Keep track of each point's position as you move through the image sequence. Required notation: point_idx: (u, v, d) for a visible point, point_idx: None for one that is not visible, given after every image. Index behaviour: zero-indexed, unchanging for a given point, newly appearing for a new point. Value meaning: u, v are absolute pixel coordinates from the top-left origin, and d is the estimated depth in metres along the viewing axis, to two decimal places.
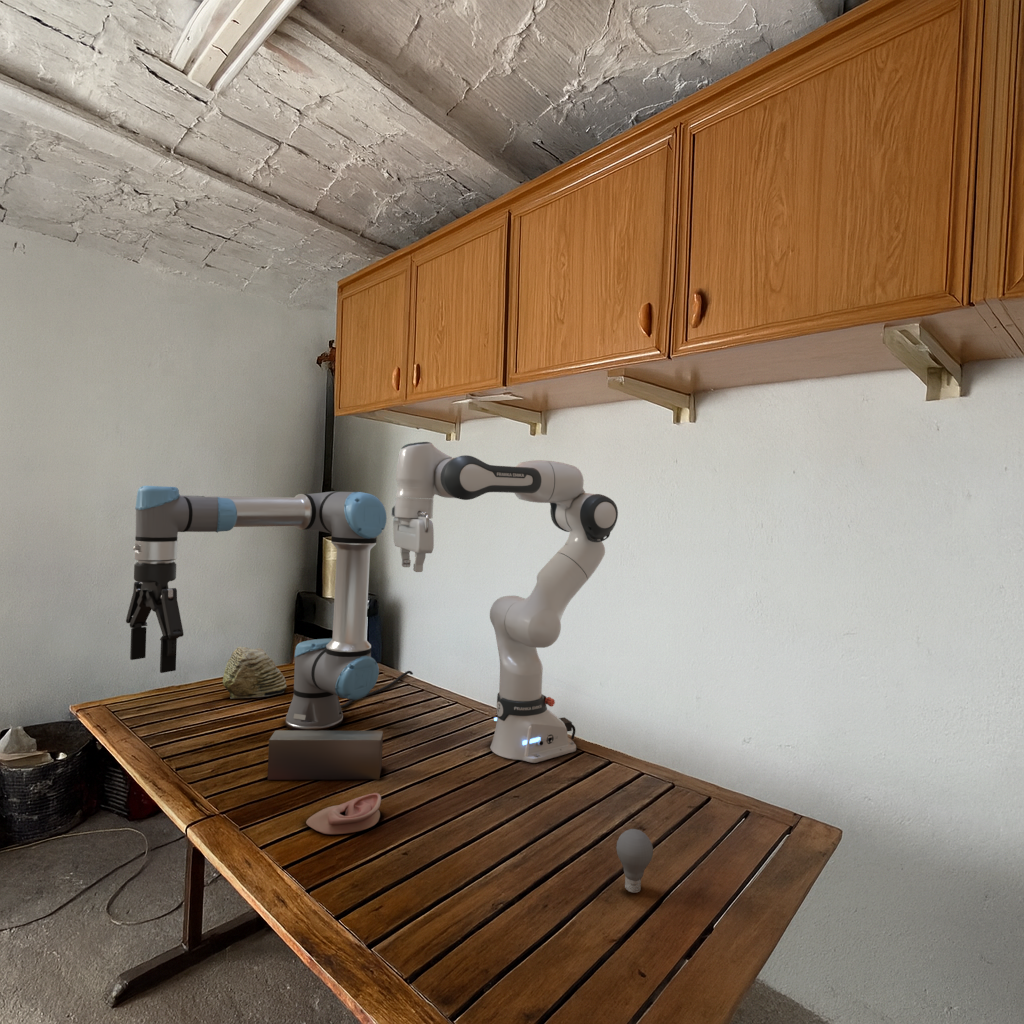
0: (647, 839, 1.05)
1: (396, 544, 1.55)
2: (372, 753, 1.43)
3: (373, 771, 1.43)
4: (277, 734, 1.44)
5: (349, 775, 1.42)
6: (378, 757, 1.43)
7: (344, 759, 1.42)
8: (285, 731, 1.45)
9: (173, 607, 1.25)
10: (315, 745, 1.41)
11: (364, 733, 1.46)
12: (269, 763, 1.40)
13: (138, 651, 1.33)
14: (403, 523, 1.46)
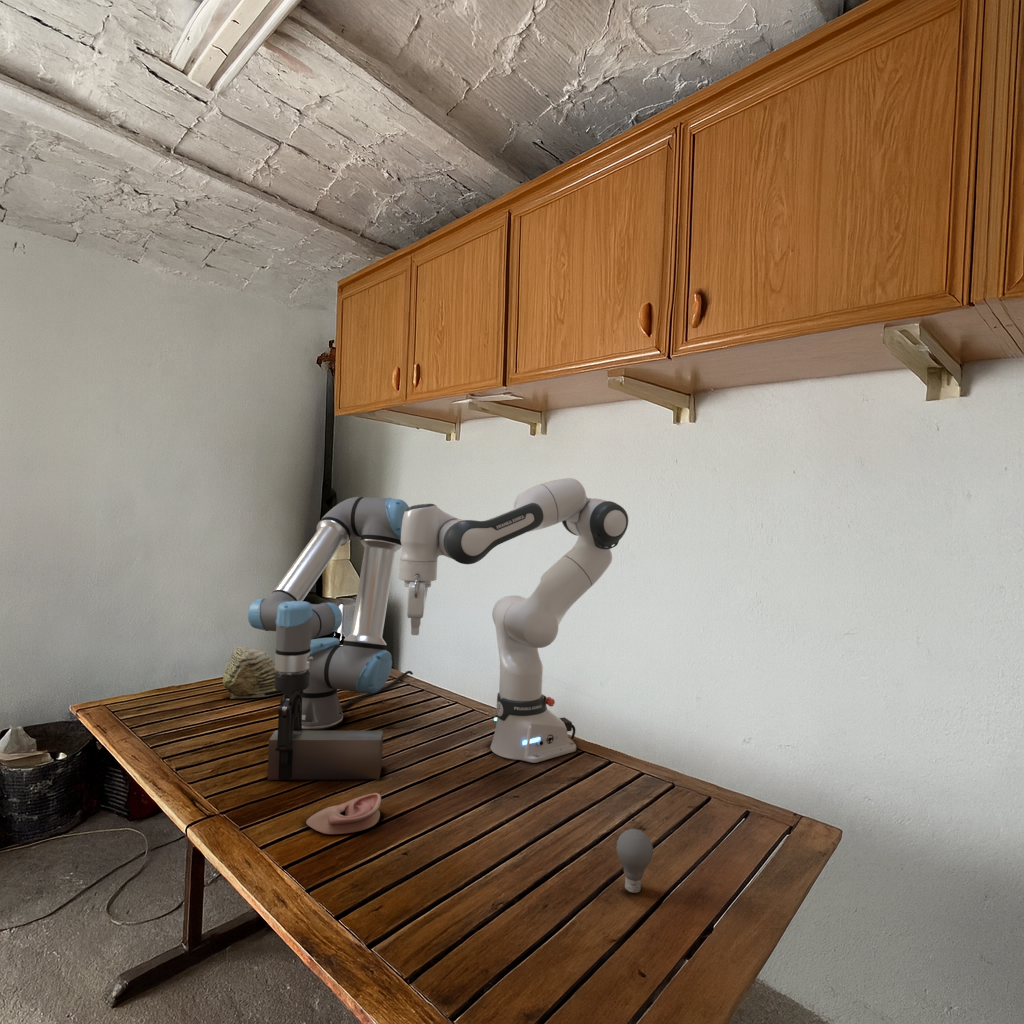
0: (647, 839, 1.05)
1: None
2: (372, 753, 1.43)
3: (373, 771, 1.43)
4: (277, 734, 1.44)
5: (349, 775, 1.42)
6: (378, 757, 1.43)
7: (344, 759, 1.42)
8: None
9: None
10: (315, 745, 1.41)
11: (364, 733, 1.46)
12: (269, 763, 1.40)
13: None
14: (405, 585, 1.48)
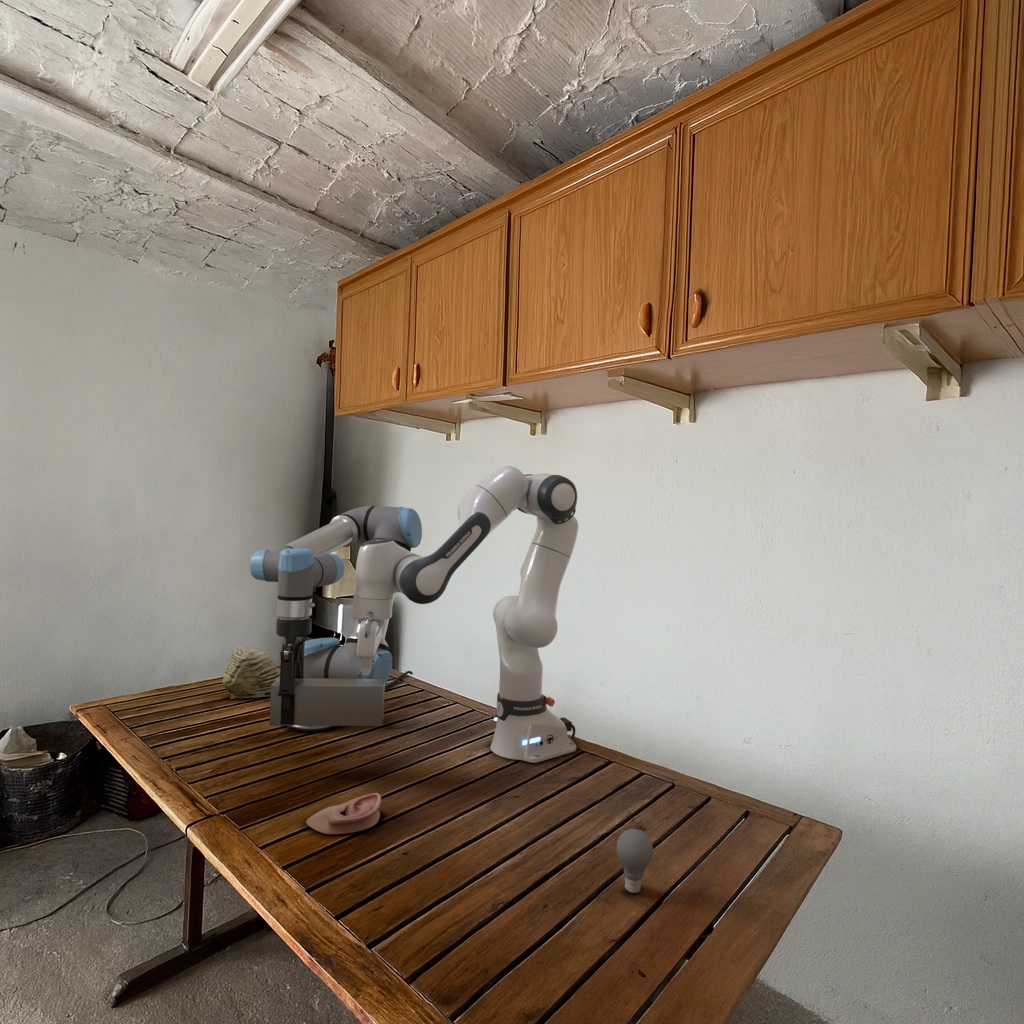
0: (647, 839, 1.05)
1: None
2: (374, 700, 1.43)
3: (375, 717, 1.43)
4: (279, 680, 1.43)
5: (352, 722, 1.42)
6: (380, 704, 1.43)
7: (347, 705, 1.42)
8: None
9: None
10: (317, 691, 1.41)
11: (366, 681, 1.46)
12: (271, 709, 1.40)
13: None
14: (358, 622, 1.43)
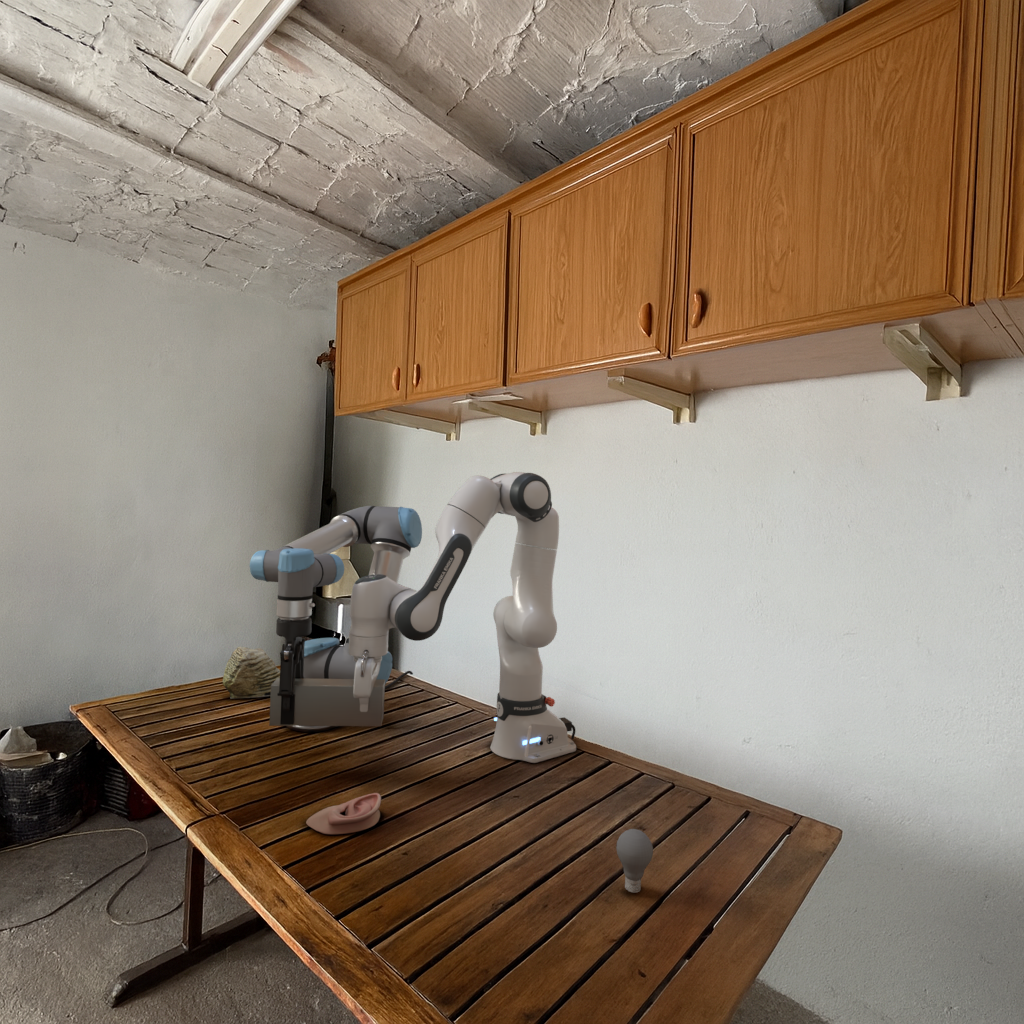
0: (647, 839, 1.05)
1: None
2: (374, 700, 1.43)
3: (375, 718, 1.43)
4: (279, 681, 1.43)
5: (351, 722, 1.42)
6: (380, 704, 1.43)
7: (346, 705, 1.42)
8: None
9: None
10: (317, 692, 1.41)
11: None
12: (271, 709, 1.40)
13: None
14: (354, 660, 1.43)
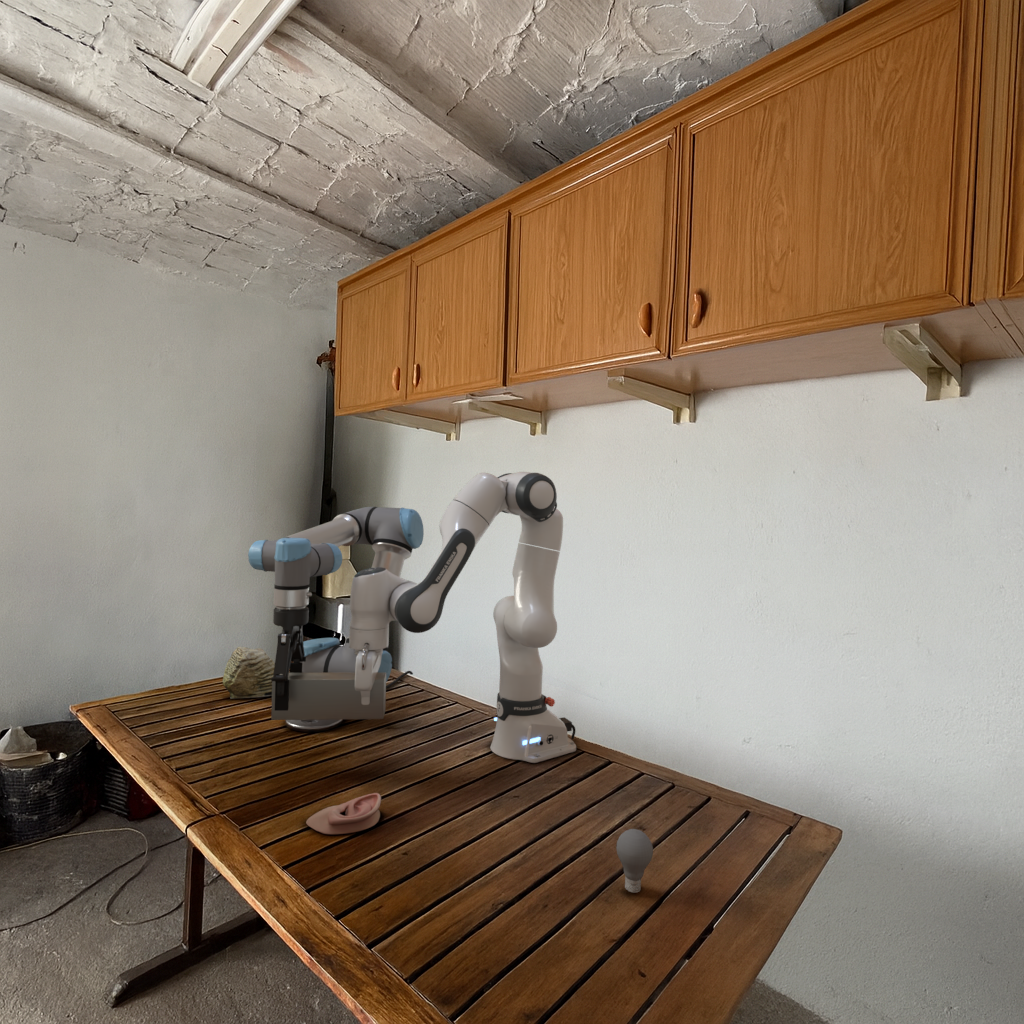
0: (647, 839, 1.05)
1: None
2: (375, 693, 1.43)
3: (377, 710, 1.43)
4: None
5: (353, 715, 1.42)
6: (382, 697, 1.43)
7: (348, 698, 1.42)
8: None
9: None
10: (319, 685, 1.41)
11: None
12: (273, 703, 1.40)
13: None
14: (355, 653, 1.43)
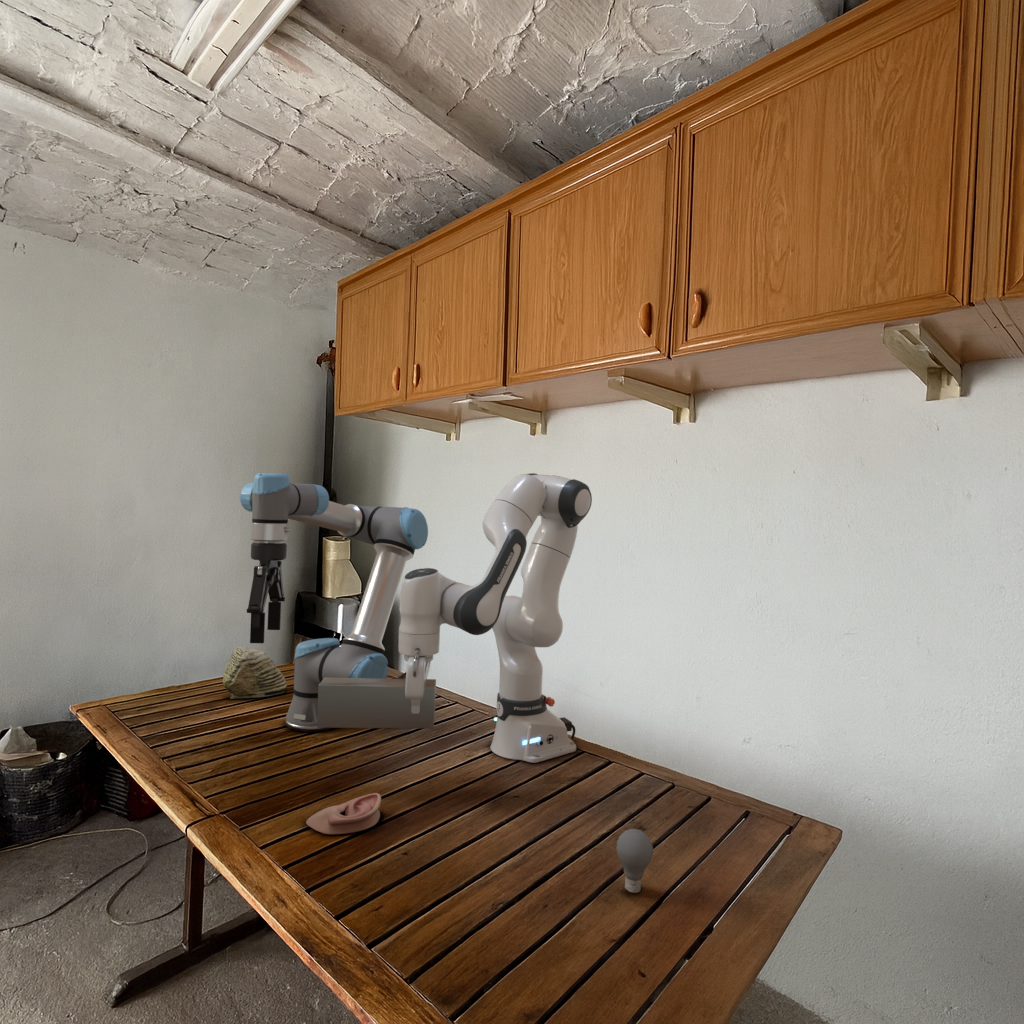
0: (647, 839, 1.05)
1: None
2: (425, 701, 1.35)
3: (427, 720, 1.35)
4: (327, 680, 1.37)
5: (402, 724, 1.35)
6: (432, 705, 1.35)
7: (397, 706, 1.35)
8: (334, 678, 1.39)
9: None
10: (367, 692, 1.34)
11: None
12: (319, 710, 1.34)
13: None
14: (404, 658, 1.36)
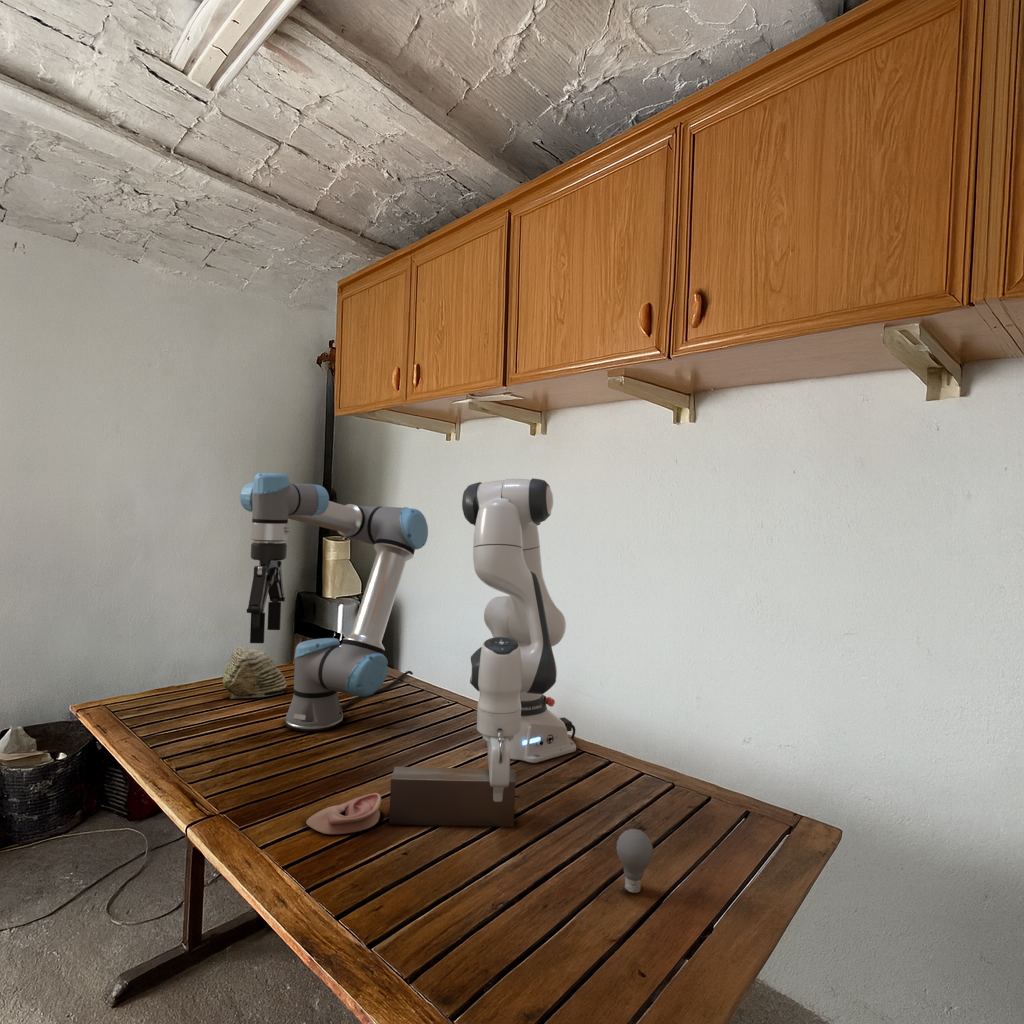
0: (647, 839, 1.05)
1: None
2: (505, 797, 1.25)
3: (507, 817, 1.25)
4: (398, 771, 1.27)
5: (480, 822, 1.25)
6: (512, 801, 1.25)
7: (475, 802, 1.24)
8: (406, 768, 1.29)
9: None
10: (442, 787, 1.24)
11: None
12: (391, 805, 1.24)
13: None
14: (484, 738, 1.26)
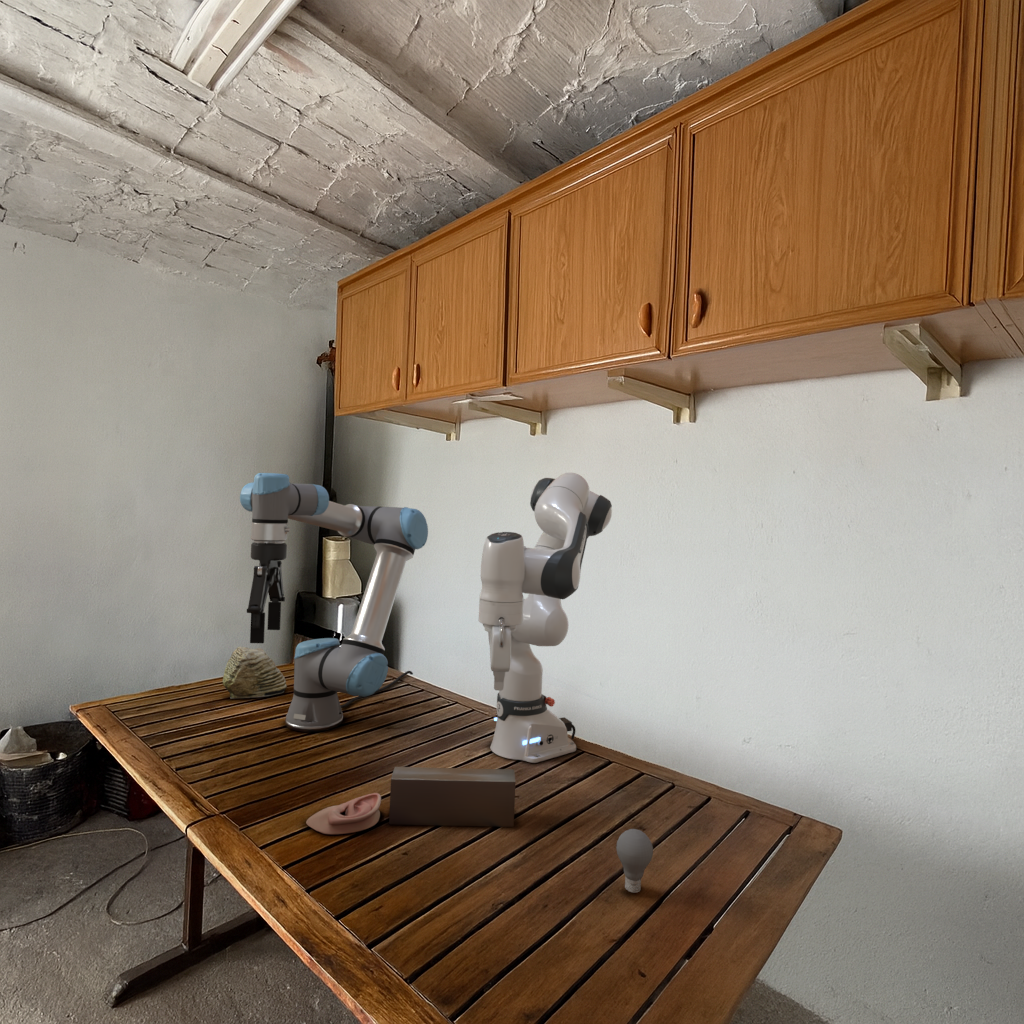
0: (647, 839, 1.05)
1: None
2: (505, 797, 1.25)
3: (507, 817, 1.25)
4: (398, 771, 1.27)
5: (480, 822, 1.25)
6: (512, 801, 1.25)
7: (475, 802, 1.24)
8: (406, 768, 1.29)
9: None
10: (442, 787, 1.24)
11: (494, 773, 1.28)
12: (391, 805, 1.24)
13: None
14: (486, 629, 1.25)
